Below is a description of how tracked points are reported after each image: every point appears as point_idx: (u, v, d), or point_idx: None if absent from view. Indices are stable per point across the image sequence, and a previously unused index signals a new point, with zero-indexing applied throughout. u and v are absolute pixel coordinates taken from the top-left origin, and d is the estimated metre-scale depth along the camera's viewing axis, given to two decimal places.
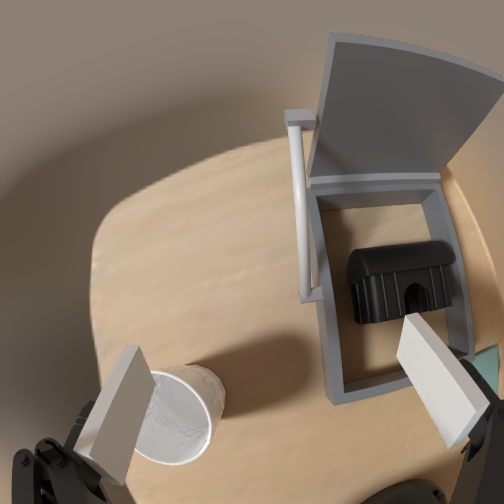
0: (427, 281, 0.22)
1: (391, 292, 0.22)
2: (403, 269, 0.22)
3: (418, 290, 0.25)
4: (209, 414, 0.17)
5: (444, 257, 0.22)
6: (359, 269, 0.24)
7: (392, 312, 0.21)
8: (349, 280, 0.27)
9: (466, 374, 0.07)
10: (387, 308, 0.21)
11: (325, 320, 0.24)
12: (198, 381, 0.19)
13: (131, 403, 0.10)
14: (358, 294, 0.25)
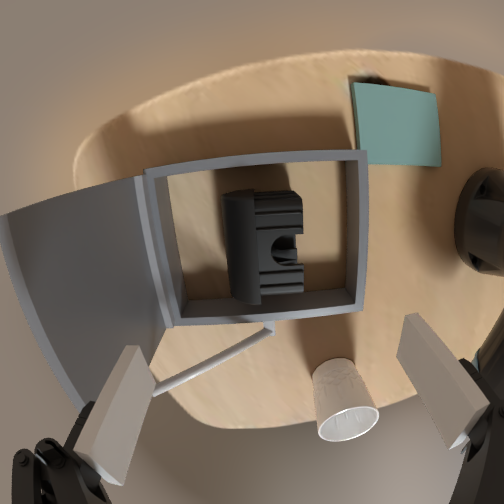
0: (271, 235, 0.24)
1: (278, 278, 0.25)
2: (257, 269, 0.24)
3: None
4: (348, 408, 0.26)
5: (246, 212, 0.23)
6: None
7: (297, 279, 0.25)
8: None
9: (466, 374, 0.07)
10: (292, 285, 0.25)
11: None
12: (326, 402, 0.29)
13: (131, 403, 0.10)
14: None
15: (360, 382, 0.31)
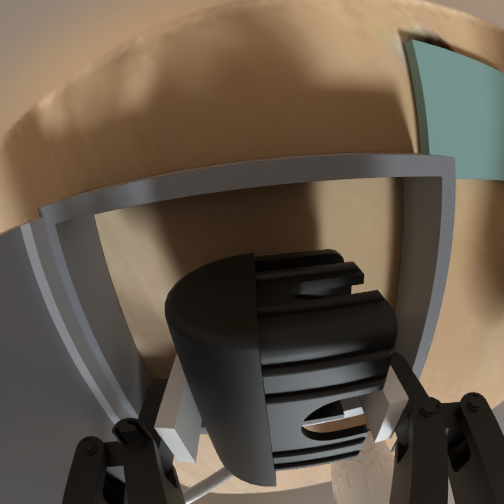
0: (305, 405, 0.08)
1: (311, 455, 0.09)
2: (270, 459, 0.08)
3: None
4: None
5: (237, 377, 0.07)
6: None
7: (349, 449, 0.09)
8: None
9: (390, 367, 0.09)
10: (339, 458, 0.09)
11: None
12: (350, 496, 0.17)
13: None
14: None
15: (392, 463, 0.19)
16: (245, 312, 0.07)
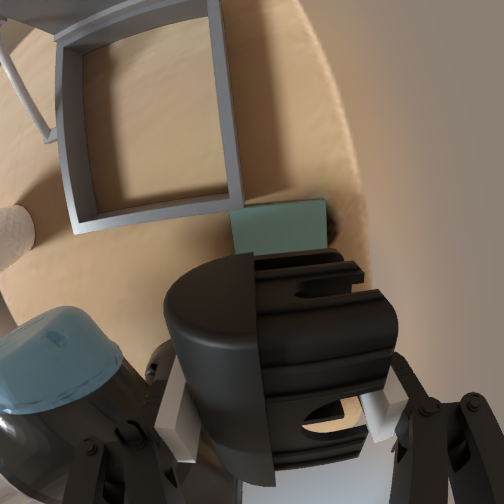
0: (305, 405, 0.08)
1: (311, 455, 0.09)
2: (269, 460, 0.08)
3: None
4: None
5: (236, 376, 0.07)
6: None
7: (349, 449, 0.09)
8: None
9: None
10: (339, 458, 0.09)
11: None
12: None
13: None
14: None
15: (11, 256, 0.23)
16: (244, 311, 0.07)
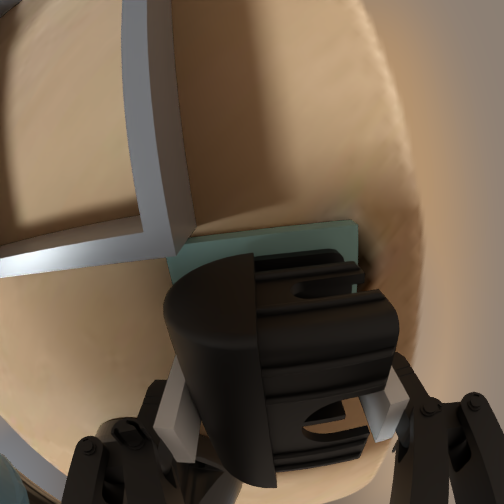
0: (305, 406, 0.08)
1: (312, 456, 0.09)
2: (270, 461, 0.08)
3: None
4: None
5: (236, 377, 0.07)
6: None
7: (350, 450, 0.09)
8: None
9: None
10: (341, 459, 0.09)
11: None
12: None
13: None
14: None
15: None
16: (244, 311, 0.07)
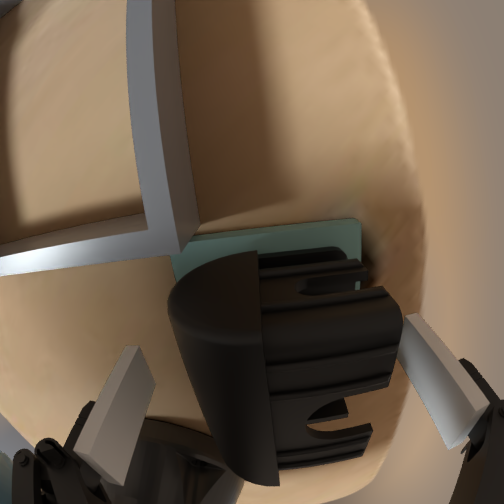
0: (309, 403, 0.08)
1: (315, 454, 0.09)
2: (274, 459, 0.08)
3: None
4: None
5: (240, 373, 0.07)
6: None
7: (354, 448, 0.09)
8: None
9: (466, 374, 0.07)
10: (344, 457, 0.09)
11: None
12: None
13: (131, 403, 0.10)
14: None
15: None
16: (249, 308, 0.07)
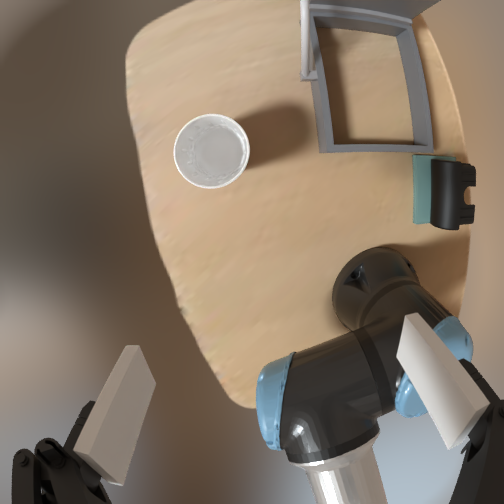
0: (464, 186, 0.30)
1: (464, 213, 0.32)
2: (460, 206, 0.31)
3: None
4: (247, 139, 0.26)
5: (458, 170, 0.29)
6: None
7: (471, 213, 0.32)
8: None
9: (466, 374, 0.07)
10: (470, 217, 0.32)
11: (319, 92, 0.30)
12: None
13: (131, 403, 0.10)
14: None
15: None
16: None
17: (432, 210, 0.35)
